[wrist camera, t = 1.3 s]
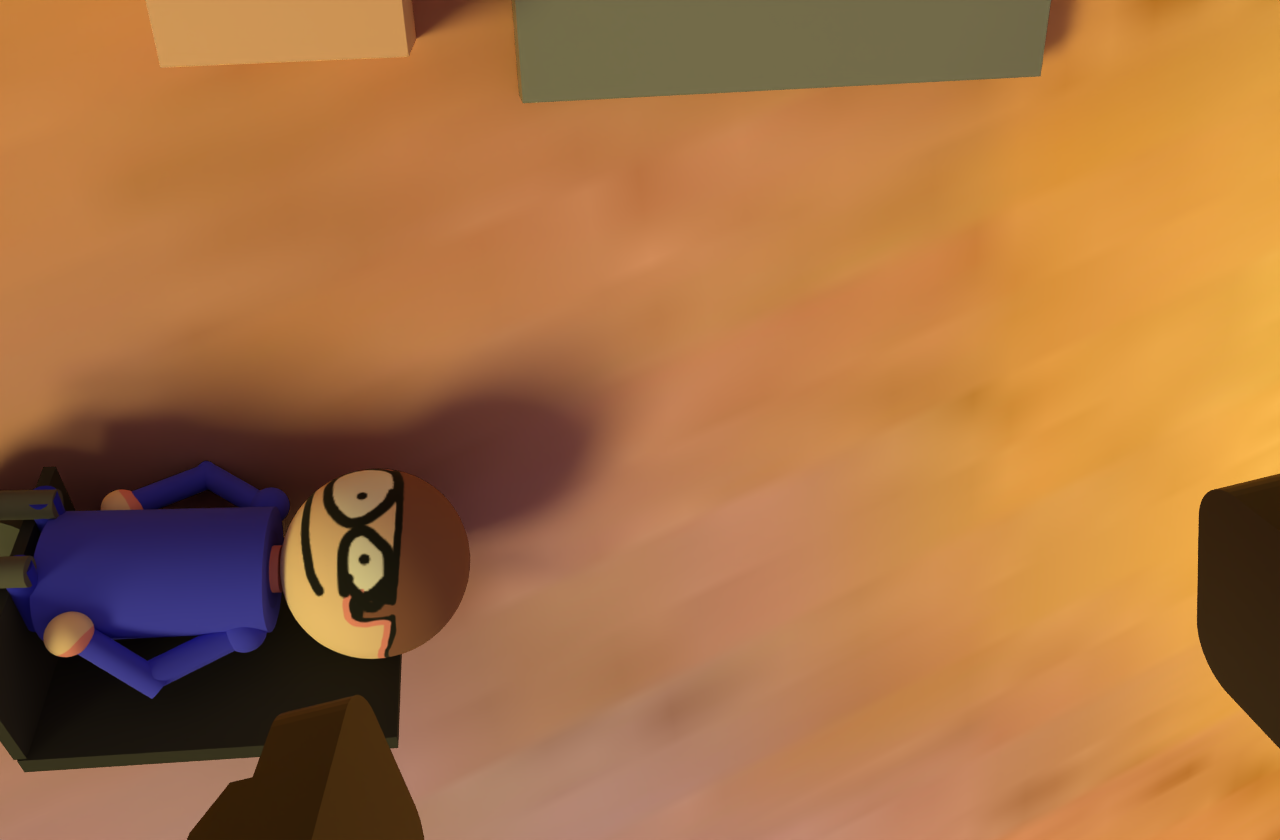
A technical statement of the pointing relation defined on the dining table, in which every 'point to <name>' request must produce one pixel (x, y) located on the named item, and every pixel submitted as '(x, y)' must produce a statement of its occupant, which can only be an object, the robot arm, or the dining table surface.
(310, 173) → the dining table surface
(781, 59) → the base plate
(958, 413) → the dining table surface
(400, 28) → the terracotta block
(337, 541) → the character figurine
